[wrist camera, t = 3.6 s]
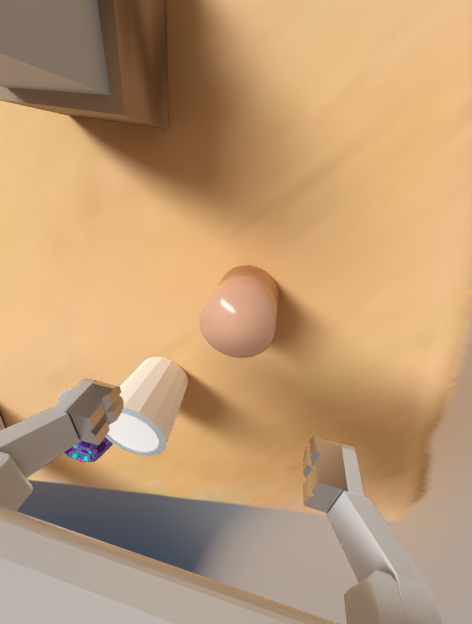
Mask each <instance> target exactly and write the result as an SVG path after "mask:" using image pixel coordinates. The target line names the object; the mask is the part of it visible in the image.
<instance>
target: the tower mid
mask: <svg viewBox="0 0 472 624" xmlns="http://www.w3.org/2000/svg"><path fill="white" fill-rule="evenodd" d="M0 86H3V87H7V88H20V89H34V90H47V91H60V92H74V93H87V94H100V95H110V89H109V82H108V75H107V67H106V60H105V53H104V45H103V38H102V31H101V23H100V16H99V9H98V2H97V0H0Z"/></svg>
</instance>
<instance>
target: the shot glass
mask: <svg viewBox="0 0 472 624" xmlns="http://www.w3.org/2000/svg"><path fill="white" fill-rule="evenodd" d="M187 385H188V379H187V375H186V373H185V372H184V371H183V369H182V368H181V367H180V366H179V365H177V364H176V363H174V362H173V361H171V360H168V359H165V358H163V357H151V358H149V359H146V360H145V361H144V362H143V363H142V364H141V365H140V366H139V367H138V368H137V369H136V370H135V371H134V372H133V373H132V374H131V376H130V377H129V378H128V379H127V380H126V381H125V382H124V383H123V384H122V385H121V386H120V389H121V393H120V396H121V397H122V399H123V401H124V406H123V410H122V412H121V415H120V416H119V418H118V419H117V421H115V422H113V423H112V424H110V430H109V432H108V433H107V435H106V436H105V437H106V438H107V439H108V440H109V441H110V442H112V443H113V444H115V445H117V446H118V447H120V448H122V449H124V450H127V451H130V452H132V453H135V454H141V455H154V454H159V453H160V452H162V451H163V450H164V449H165V447H166V444H167V442H168V439H169V436H170V433H171V430H172V428H173V425H174V422H175V419H176V417H177V414H178V411H179V408H180V405H181V403H182V400H183V397H184V394H185V391H186V389H187Z"/></svg>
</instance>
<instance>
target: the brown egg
mask: <svg viewBox="0 0 472 624" xmlns="http://www.w3.org/2000/svg"><path fill="white" fill-rule="evenodd" d="M278 299H279V292H278V287H277V284H276V282H275V281H274V279H273V278H272V277H271V276H270V275H269V274H268V273H267V272H266V271H264V270H262V269H260V268H257V267H254V266H239V267H236V268H234V269H232V270H230V271H229V272H227V273H226V274H225V275H224V277H223V278H222V280H221V281H220V283H219V284H218V286H217V288H216V289H215V291H214V292H213V294H212V296H211V297H210V299H209V300H208V302H207V303H206V305H205V307H204V308H203V310H202V312H201V315H200V328H201V331H202V334H203V336H204V337H205V339H206V340H207V342H208V343H209V344H210V345H211V346H212V347H213V348H215V349H216V350H218V351H219V352H221V353H223V354H226V355H228V356H232V357H238V358H246V357H252V356H255V355H258V354H260V353H262V352H263V351H264V350H266V349H267V348H268V347H269V345H270V344H271V342H272V340H273V338H274V333H275V325H276V316H277V307H278Z"/></svg>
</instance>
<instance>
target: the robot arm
mask: <svg viewBox="0 0 472 624" xmlns="http://www.w3.org/2000/svg"><path fill="white" fill-rule="evenodd" d="M120 393H121V389H120V387H118V386H114V385H111V384H107V383H103V382H99V381H96V380H92V379H88V378H85V379H83V380H82V381H81V382H80V383H79V384H78V385H77V386H76V387H75V388H74V389H73V390H72V391H71V392H70V393H68V394H67V395H66V396H65V397H64V398H63V399H62V400H61V401H60V402H59V403H58V404H57V405H56V406H55V407H54V408H53V409H52V408H49V409H47V410H45V411H42V412H40V413H38V414H36V415H34V416H31V417H29V418H27V419H25V420H23V421H21V422H18V423H16V424H14V425H12V426H10V427H7V428H5V426H4V424H3V421H2V419H1V416H0V624H338V623H335V622H332V621H329V620H326V619H323V618H321V617H318V616H315V615H312V614H309V613H306V612H303V611H301V610H298V609H295V608H292V607H289V606H286V605H283V604H280V603H278V602H275V601H272V600H269V599H266V598H263V597H260V596H258V595H255V594H252V593H249V592H246V591H243V590H240V589H238V588H235V587H232V586H229V585H226V584H223V583H220V582H217V581H215V580H212V579H209V578H206V577H203V576H200V575H197V574H194V573H191V572H189V571H186V570H183V569H180V568H177V567H174V566H171V565H169V564H166V563H163V562H160V561H157V560H154V559H151V558H148V557H146V556H143V555H140V554H137V553H134V552H131V551H128V550H126V549H123V548H120V547H117V546H114V545H111V544H108V543H105V542H103V541H100V540H97V539H94V538H91V537H88V536H85V535H83V534H80V533H77V532H74V531H71V530H68V529H65V528H62V527H59V526H57V525H54V524H51V523H48V522H45V521H42V520H39V519H36V518H34V517H31V516H28V515H25V514H22V513H19V512H16V511H17V510H18V508H19V507H20V506H21V505H22V503H23V502H24V501H25V499H26V498H27V497H28V496H29V495H30V493H31V492H32V488H33V487H32V485H31V484H30V482H29V481H28V480H27V477H28V476H30V475H31V474H33V473H34V472H36V471H37V470H39V469H40V468H42V467H43V466H45V465H46V464H48V463H49V462H51V461H52V460H54V459H55V458H57V457H58V456H60V455H61V454H62V453H64V452H65V451H67V450H68V449H70V448H71V447H73V446H74V445H76V444H77V443H79V442H80V441H84V442H88V443H92V444H96V445H99V444H100V443H101V442H102V440H103V439H104V437H105V436H106V435H107V433H108V432H109V430H110V424H112V423H113V422H115V421H117V419H118V418H119V416H120V415H121V412H122V410H123V406H124V401H123V399H122V397H121V396H120ZM303 473H304V475H305V477H306V481H305V483H304V485H303V498H304V506H307V507H310V508H313V509H316V510H319V511H322V512H325V513H327V516H328V518H329V520H330V522H331V524H332V526H333V529H334V531H335V533H336V535H337V537H338V539H339V541H340V544H341V545H342V548H343V550H344V552H345V554H346V556H347V558H348V560H349V562H350V565H351V567H352V569H353V571H354V573H355V575H356V577H357V579H358V582H359V583H358V584H356V585H355V586H353V587H352V588H350V589H349V590H348V591H347V592H346V593H345V594H344V599H345V610H346V621H347V624H442V622H441V618H440V615H439V611H438V608H437V605H436V602H435V599H434V595H433V592H432V589H431V586H430V585H429V583H428V582H427V580H426V579H425V578H424V576H423V575H422V573H421V572H420V571H419V569H418V567H417V566H416V564H415V563H414V561H413V560H412V559H411V557H410V556H409V554H408V553H407V551H406V550H405V548H404V547H403V545H402V544H401V543H400V541H399V540H398V538H397V537H396V535H395V534H394V533H393V531H392V530H391V528H390V527H389V525H388V524H387V522H386V521H385V519H384V518H383V517H382V515H381V514H380V512H379V511H378V509H377V508H376V506H375V505H374V503H373V502H372V501H371V499H370V498H369V497H366V496H365V494H364V489H363V484H362V479H361V474H360V469H359V464H358V459H357V455H356V450H355V448H354V447H353V446H350V445H346V444H341V443H339V442H335V441H331V440H327V439H322V438H318V437H314V436H313V437H311V439H310V446H309V447H307V448H306V451H305V454H304V459H303Z"/></svg>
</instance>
